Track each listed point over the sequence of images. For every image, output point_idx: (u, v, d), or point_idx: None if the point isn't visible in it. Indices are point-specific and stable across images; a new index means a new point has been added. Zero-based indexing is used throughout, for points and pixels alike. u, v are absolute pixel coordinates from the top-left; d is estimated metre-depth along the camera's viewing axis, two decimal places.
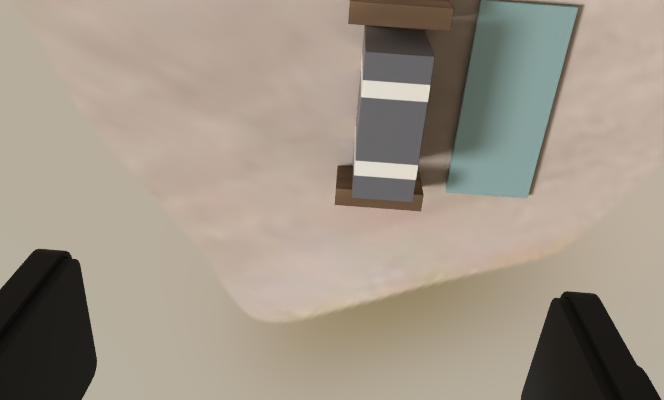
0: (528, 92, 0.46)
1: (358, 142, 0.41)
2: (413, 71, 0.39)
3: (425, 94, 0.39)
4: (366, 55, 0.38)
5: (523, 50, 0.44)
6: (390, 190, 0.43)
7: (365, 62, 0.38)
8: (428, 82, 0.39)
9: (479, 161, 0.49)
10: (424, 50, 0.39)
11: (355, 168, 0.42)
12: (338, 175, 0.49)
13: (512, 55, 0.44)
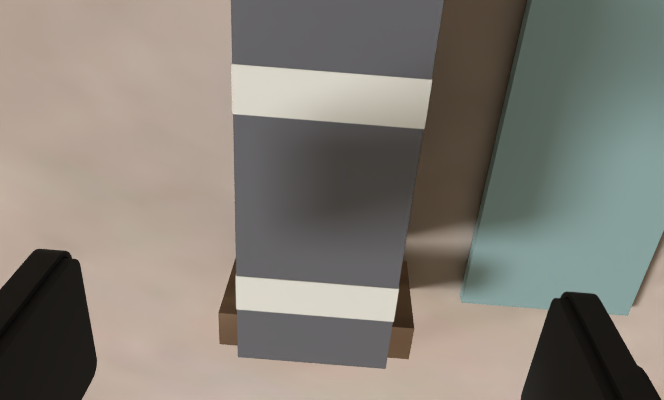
0: (655, 100, 0.20)
1: (239, 233, 0.15)
2: (381, 38, 0.13)
3: (417, 107, 0.13)
4: None
5: None
6: (330, 343, 0.17)
7: (234, 9, 0.13)
8: (426, 72, 0.13)
9: (533, 244, 0.23)
10: None
11: (238, 294, 0.16)
12: (233, 274, 0.23)
13: (627, 11, 0.18)
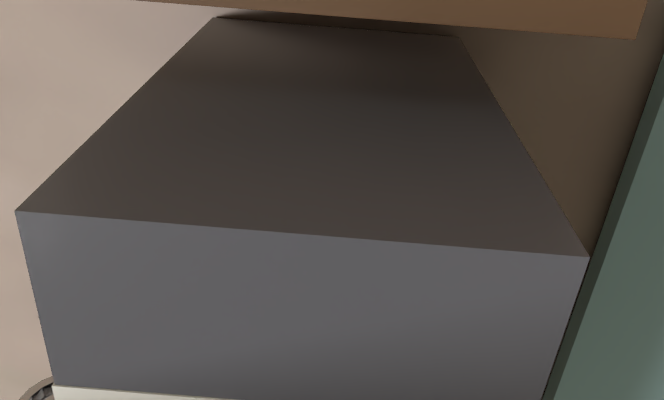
0: None
1: None
2: (416, 347, 0.05)
3: None
4: (31, 236, 0.05)
5: None
6: None
7: (39, 282, 0.05)
8: None
9: None
10: (488, 173, 0.06)
11: None
12: None
13: None
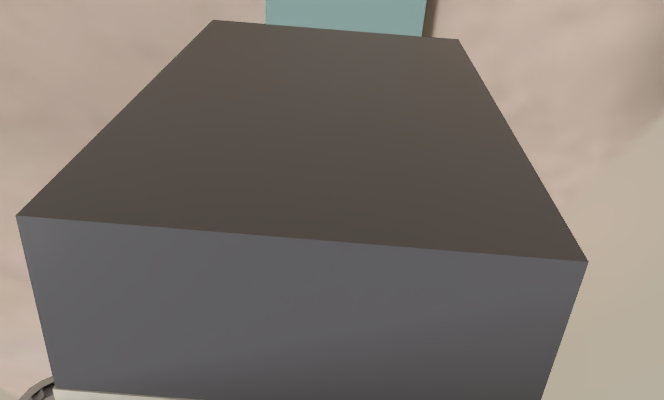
0: None
1: None
2: (414, 351, 0.05)
3: None
4: (32, 241, 0.05)
5: None
6: None
7: (40, 286, 0.05)
8: None
9: None
10: (486, 177, 0.06)
11: None
12: None
13: None
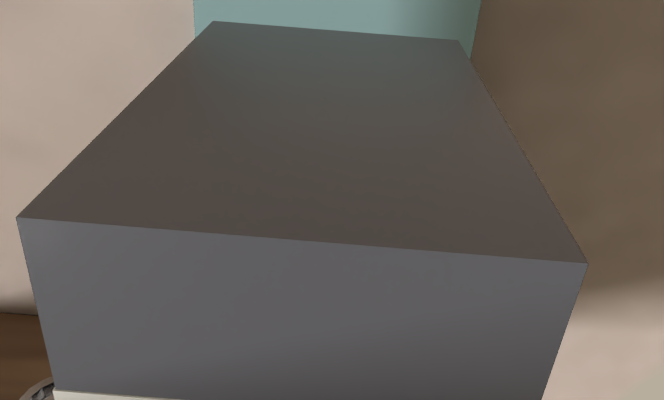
0: None
1: None
2: (414, 352, 0.05)
3: None
4: (32, 242, 0.05)
5: (347, 14, 0.14)
6: None
7: (40, 288, 0.05)
8: None
9: None
10: (487, 178, 0.06)
11: None
12: None
13: None
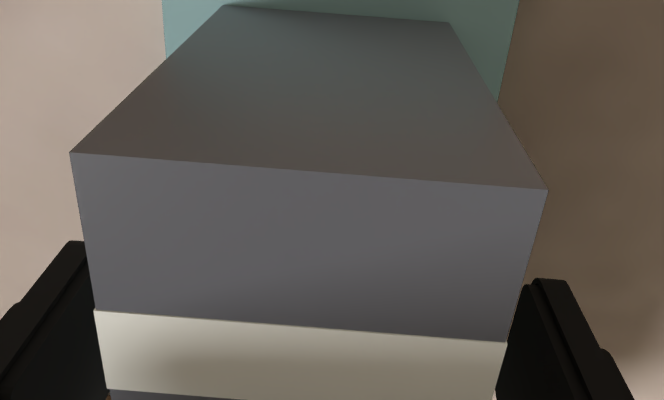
0: None
1: None
2: (404, 272, 0.06)
3: (474, 387, 0.07)
4: (82, 175, 0.06)
5: None
6: None
7: (87, 216, 0.06)
8: (495, 329, 0.06)
9: None
10: (467, 129, 0.07)
11: None
12: None
13: None
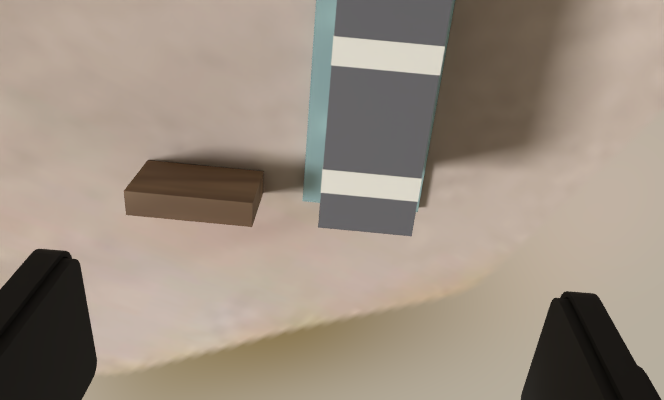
0: None
1: (327, 140, 0.26)
2: (417, 22, 0.23)
3: (436, 62, 0.24)
4: None
5: None
6: (377, 217, 0.28)
7: (338, 5, 0.23)
8: (441, 42, 0.24)
9: None
10: None
11: (323, 181, 0.27)
12: (140, 172, 0.34)
13: None
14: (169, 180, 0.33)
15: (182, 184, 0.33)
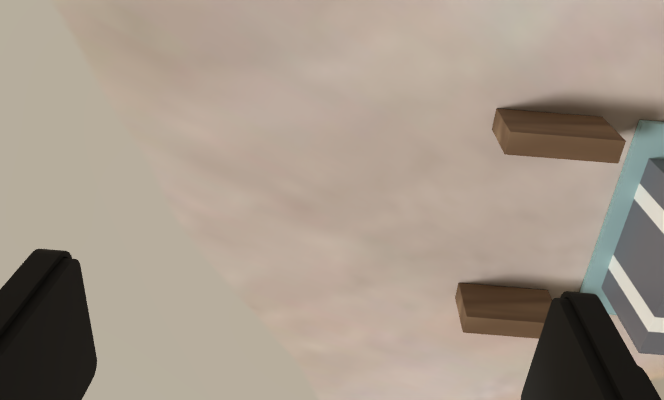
0: None
1: None
2: None
3: None
4: None
5: None
6: None
7: None
8: None
9: None
10: None
11: (652, 324, 0.38)
12: (463, 297, 0.44)
13: None
14: (489, 303, 0.44)
15: (501, 307, 0.44)
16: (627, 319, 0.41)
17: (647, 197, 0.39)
